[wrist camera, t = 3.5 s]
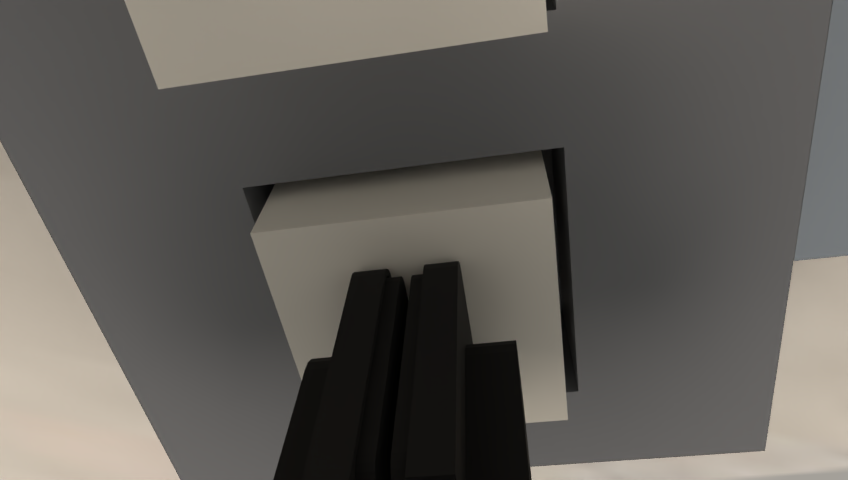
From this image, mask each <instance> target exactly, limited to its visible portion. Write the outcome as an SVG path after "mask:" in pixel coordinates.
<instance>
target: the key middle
mask: <svg viewBox="0 0 848 480" xmlns="http://www.w3.org/2000/svg"><path fill="white" fill-rule="evenodd" d="M124 1H125V4H126V6H127V9H128V11H129V14H130V17H131V19H132V22H133V24H134V27H135V30H136V32H137V35H138V37H139V40H140V43H141V45H142V48H143V51H144V53H145V56H146V58H147V61H148V64H149V66H150V69H151V71H152V74H153V77H154V79H155V82H156V85H157V87H158V89H165V88H172V87H179V86H185V85H192V84H199V83H206V82H212V81H219V80H226V79H233V78H239V77H246V76H253V75H260V74H266V73H273V72H280V71H287V70H293V69H300V68H307V67H314V66H321V65H327V64H334V63H341V62H348V61H354V60H361V59H368V58H375V57H381V56H388V55H395V54H402V53H408V52H415V51H422V50H429V49H435V48H442V47H449V46H456V45H462V44H469V43H476V42H483V41H489V40H496V39H503V38H510V37H516V36H523V35H530V34H537V33H543V32H548V26H547V11H546V0H124Z"/></svg>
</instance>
